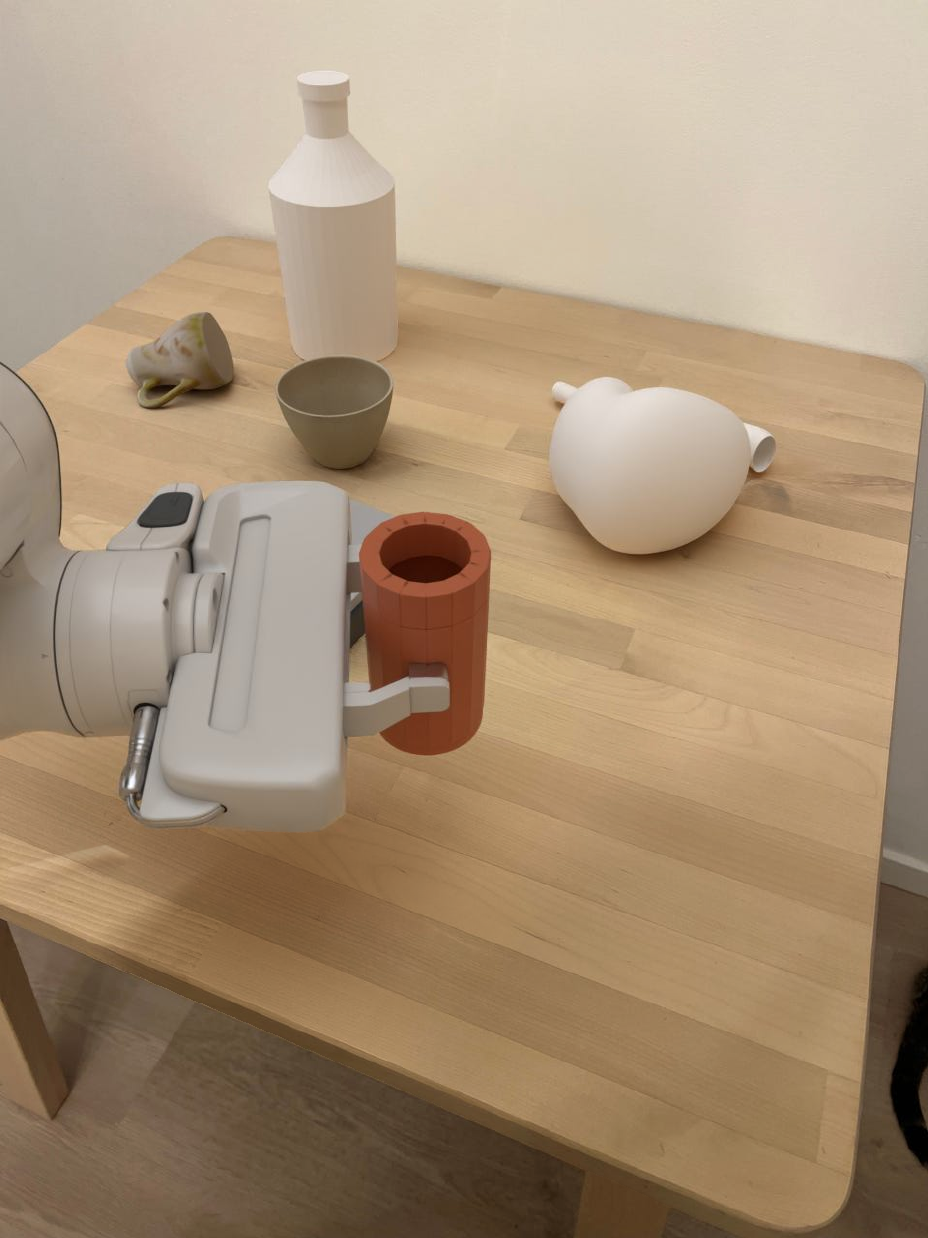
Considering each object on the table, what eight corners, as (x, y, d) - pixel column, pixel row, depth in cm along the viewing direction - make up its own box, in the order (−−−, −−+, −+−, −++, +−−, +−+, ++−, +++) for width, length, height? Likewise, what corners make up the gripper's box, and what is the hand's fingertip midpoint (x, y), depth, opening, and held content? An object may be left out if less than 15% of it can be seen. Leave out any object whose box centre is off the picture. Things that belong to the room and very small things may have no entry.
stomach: (786, 532, 84) (578, 447, 97) (835, 387, 78) (606, 318, 91) (645, 592, 68) (421, 481, 82) (693, 417, 62) (441, 328, 76)
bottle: (280, 322, 102) (245, 63, 84) (385, 308, 104) (373, 54, 87) (299, 376, 94) (265, 103, 76) (413, 359, 96) (406, 92, 79)
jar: (350, 725, 48) (333, 564, 41) (412, 656, 52) (407, 497, 44) (445, 774, 46) (445, 614, 39) (503, 698, 50) (513, 539, 42)
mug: (131, 370, 95) (163, 279, 90) (221, 414, 97) (257, 327, 92) (106, 391, 88) (139, 295, 84) (203, 438, 90) (240, 346, 86)
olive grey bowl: (335, 411, 89) (328, 342, 84) (418, 446, 85) (416, 376, 80) (262, 460, 84) (250, 389, 79) (347, 500, 80) (340, 429, 74)
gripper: (87, 782, 35) (459, 764, 35) (171, 462, 49) (433, 455, 50) (127, 871, 39) (458, 853, 40) (193, 554, 54) (434, 546, 54)
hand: (444, 629), depth 45 cm, fingers closed on jar, 6 cm apart
